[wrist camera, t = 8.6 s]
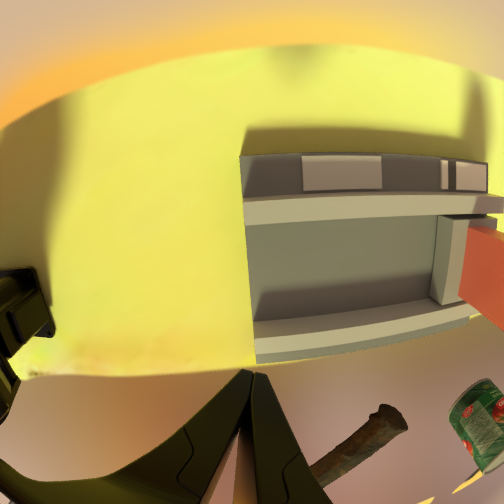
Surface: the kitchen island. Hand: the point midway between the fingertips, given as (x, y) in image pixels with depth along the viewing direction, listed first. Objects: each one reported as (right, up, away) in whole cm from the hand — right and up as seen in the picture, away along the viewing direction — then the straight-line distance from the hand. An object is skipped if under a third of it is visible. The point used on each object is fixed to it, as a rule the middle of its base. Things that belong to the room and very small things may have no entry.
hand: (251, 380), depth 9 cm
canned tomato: (+29, -16, +18) cm, 37 cm away
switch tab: (+16, +4, +9) cm, 18 cm away
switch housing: (+9, +4, +11) cm, 15 cm away
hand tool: (+9, -19, +18) cm, 28 cm away
